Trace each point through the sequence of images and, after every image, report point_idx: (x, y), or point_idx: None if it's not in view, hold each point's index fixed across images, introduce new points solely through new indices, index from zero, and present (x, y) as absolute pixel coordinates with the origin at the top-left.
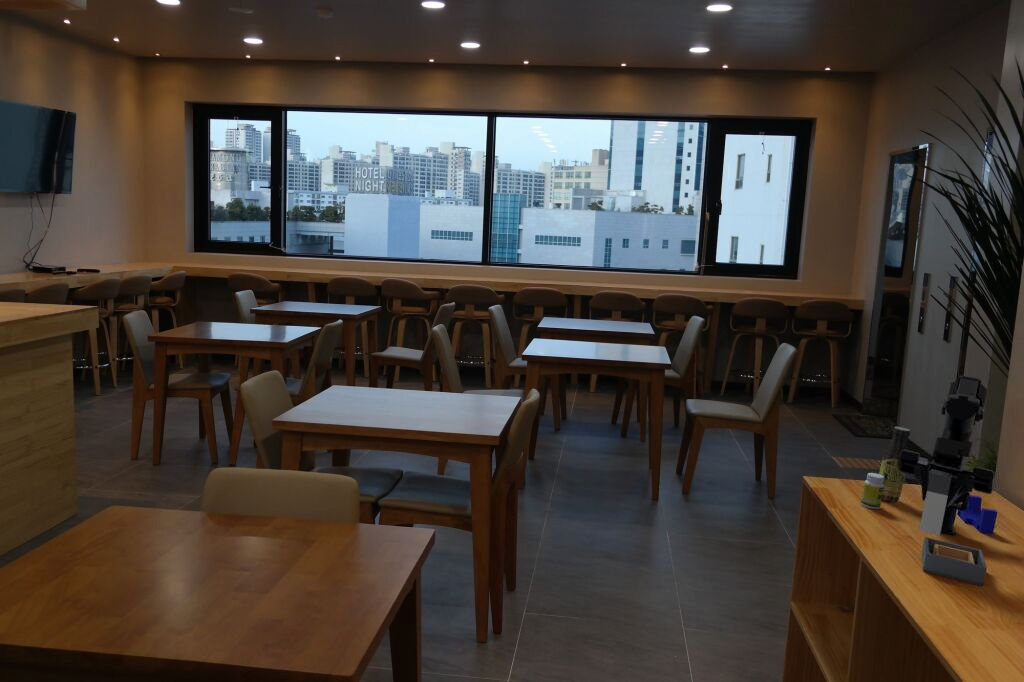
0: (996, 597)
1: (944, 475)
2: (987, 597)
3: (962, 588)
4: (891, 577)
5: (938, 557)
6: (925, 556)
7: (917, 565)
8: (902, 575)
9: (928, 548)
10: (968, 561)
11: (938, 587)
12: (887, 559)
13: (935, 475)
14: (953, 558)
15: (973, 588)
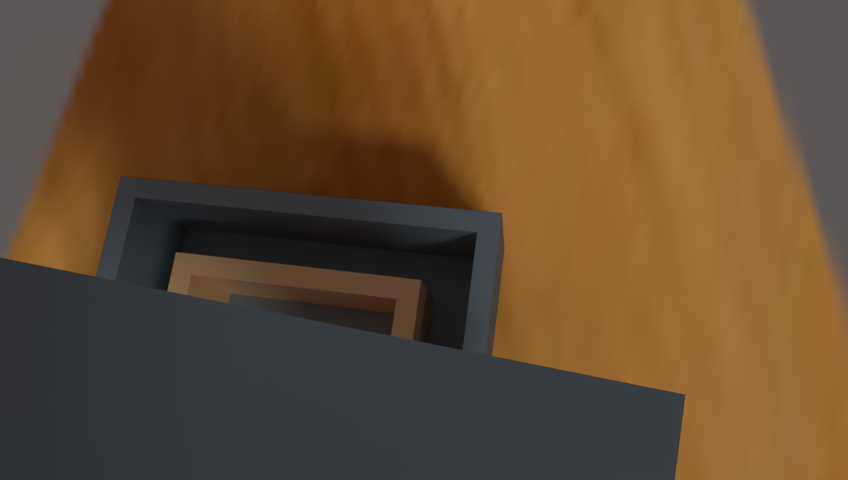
0: (155, 93)
1: (77, 432)
2: (206, 64)
3: (313, 111)
4: (710, 29)
5: (418, 205)
6: (499, 245)
7: (525, 340)
8: (641, 100)
9: (466, 343)
10: (207, 274)
11: (450, 44)
12: (724, 334)
13: (460, 356)
14: (304, 272)
15: (248, 149)
